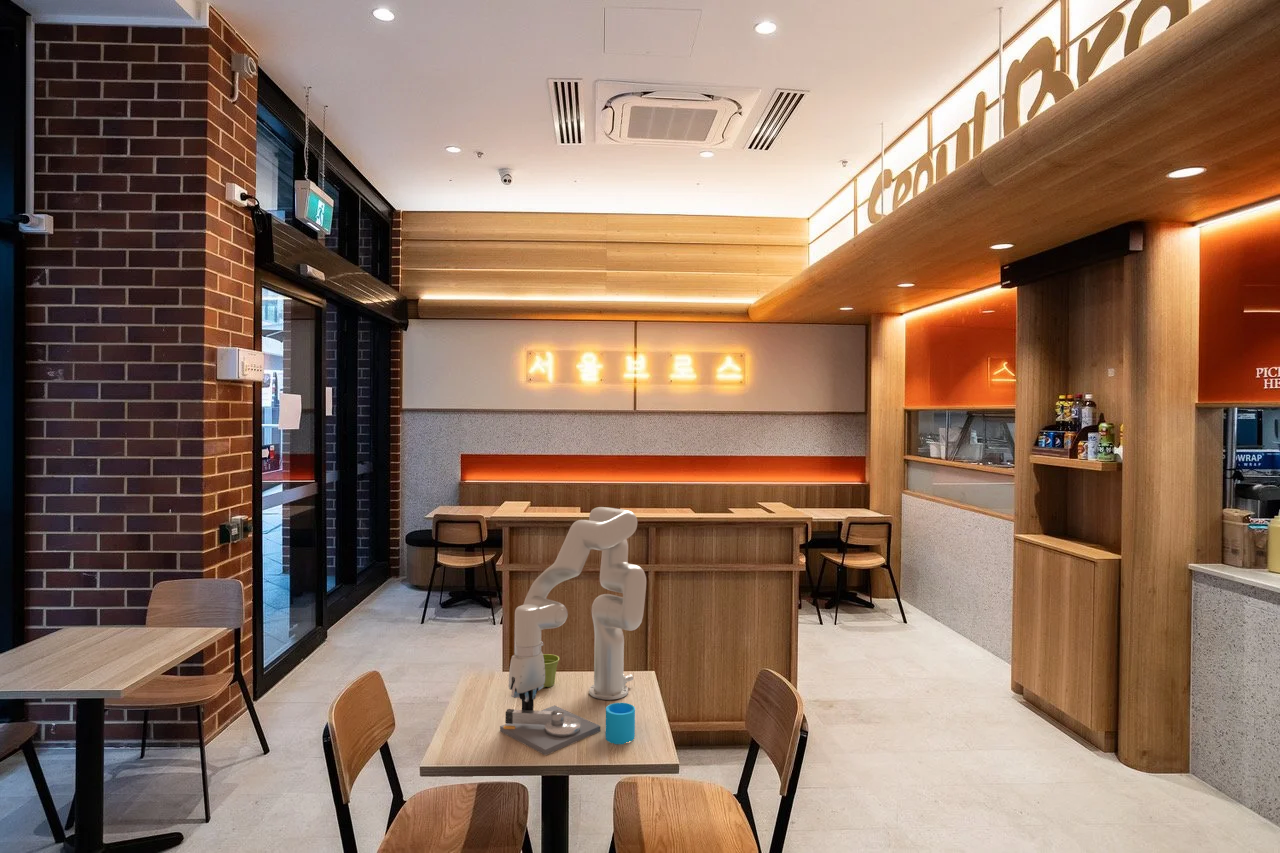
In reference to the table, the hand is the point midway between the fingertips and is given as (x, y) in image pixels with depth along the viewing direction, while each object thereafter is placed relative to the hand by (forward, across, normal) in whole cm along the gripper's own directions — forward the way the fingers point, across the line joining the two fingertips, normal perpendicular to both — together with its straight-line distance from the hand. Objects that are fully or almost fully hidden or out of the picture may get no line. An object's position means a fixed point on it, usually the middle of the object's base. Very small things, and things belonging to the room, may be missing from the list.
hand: (527, 713), depth 201 cm
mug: (+5, -16, +22) cm, 27 cm away
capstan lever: (+3, -1, +6) cm, 7 cm away
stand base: (+4, -3, +6) cm, 8 cm away
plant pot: (+5, -24, -22) cm, 33 cm away
